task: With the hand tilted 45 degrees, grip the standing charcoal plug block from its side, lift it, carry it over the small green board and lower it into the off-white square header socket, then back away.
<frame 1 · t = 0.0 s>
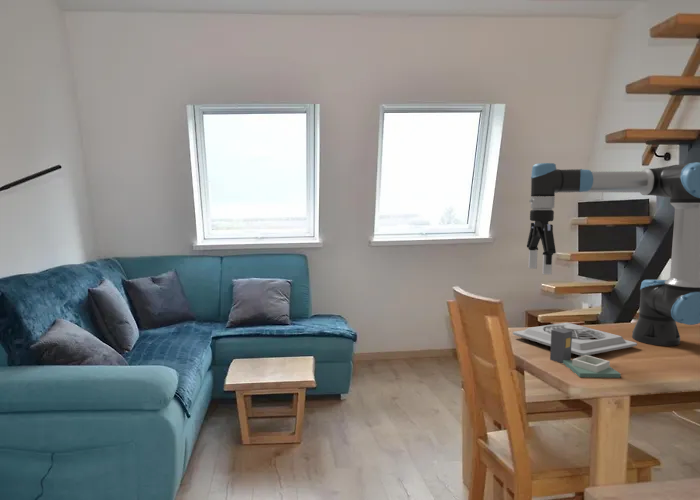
hand: (539, 271, 165), 28 cm above the table, fingers open, 13 cm apart
plug: (560, 360, 158), on the table
header board: (590, 370, 148), on the table
ventilation fan: (572, 343, 176), on the table, touching fan lead
fan lead: (567, 354, 164), on the table
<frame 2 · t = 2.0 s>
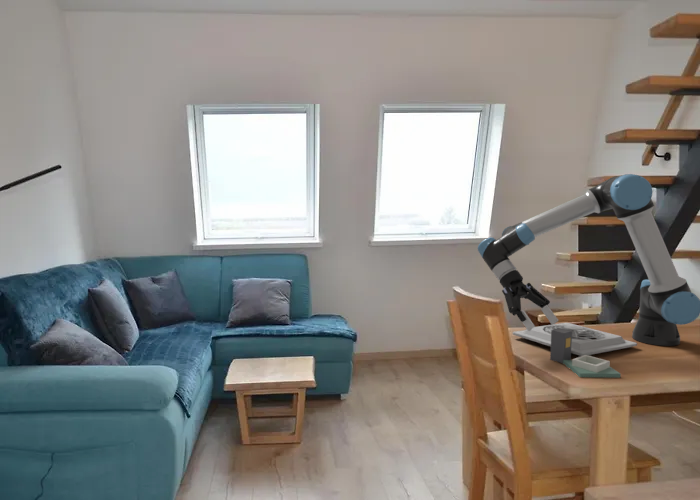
hand: (543, 325, 161), 10 cm above the table, fingers open, 13 cm apart
nothing on the table moved.
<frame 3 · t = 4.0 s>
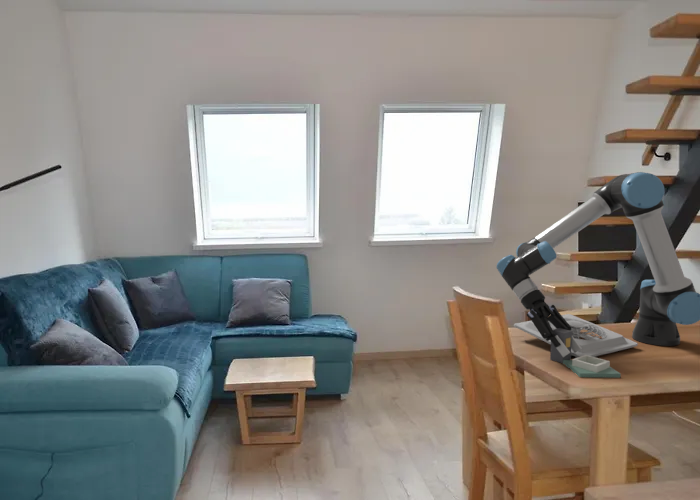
hand: (572, 352, 154), 3 cm above the table, fingers open, 6 cm apart
ventilation fan: (572, 339, 175), point 2 cm above the table, touching fan lead, gripper
everything else where it was.
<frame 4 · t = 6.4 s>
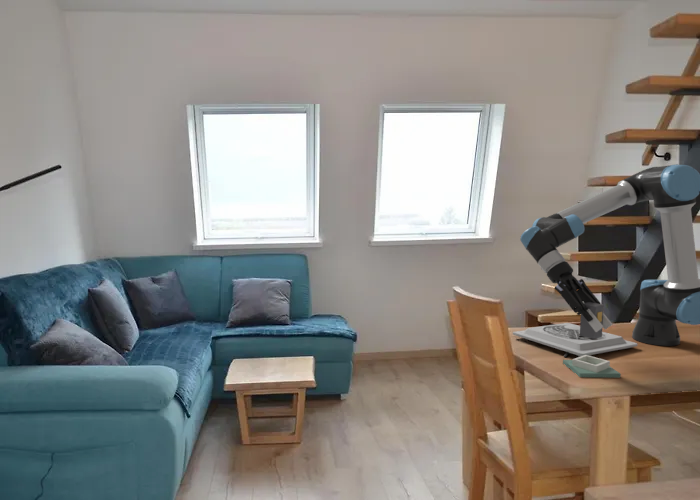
hand: (604, 328, 144), 14 cm above the table, fingers closed on plug, 4 cm apart
plug: (590, 336, 148), point 11 cm above the table, touching gripper
ventilation fan: (572, 344, 175), on the table, touching fan lead
when the fingers open (5 cm above the table, at t = 8.3 s): plug stays where it is, resting on header board.
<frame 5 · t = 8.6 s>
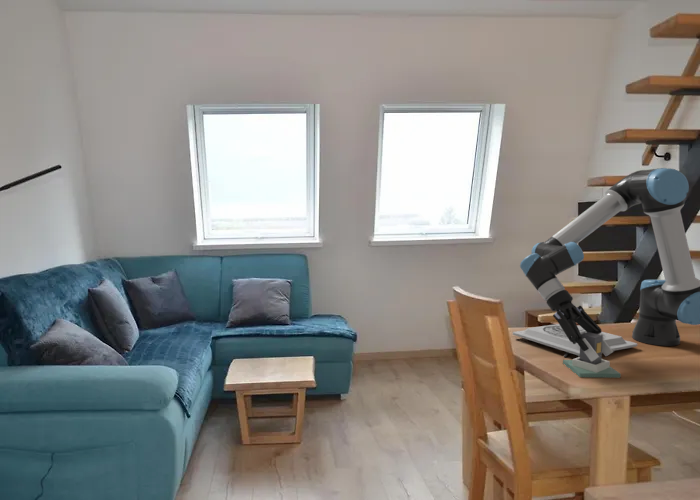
hand: (602, 356, 145), 5 cm above the table, fingers open, 8 cm apart
plug: (589, 366, 148), point 1 cm above the table, touching header board
everything else where it was.
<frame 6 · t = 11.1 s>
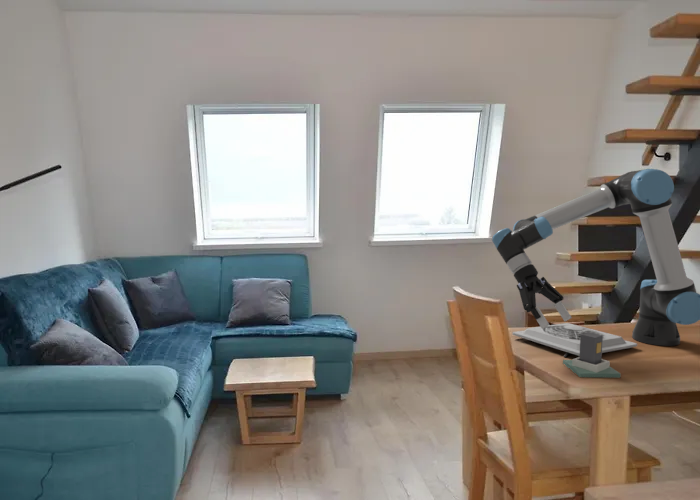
hand: (557, 323, 158), 12 cm above the table, fingers open, 13 cm apart
nothing on the table moved.
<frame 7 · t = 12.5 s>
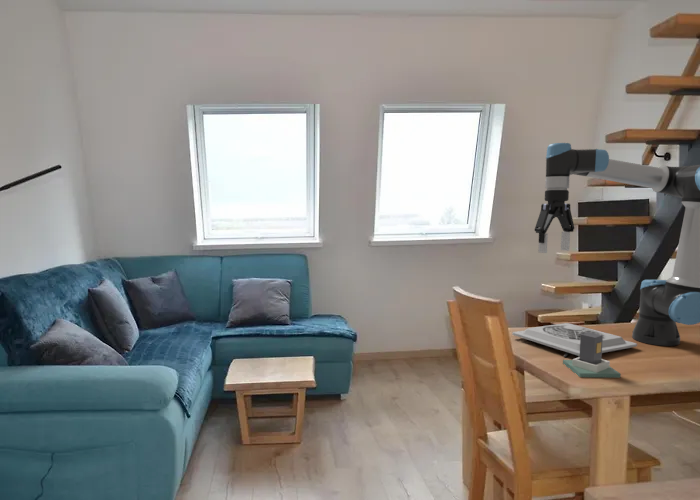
hand: (554, 251, 166), 35 cm above the table, fingers open, 13 cm apart
ventilation fan: (572, 344, 175), on the table
everything else where it was.
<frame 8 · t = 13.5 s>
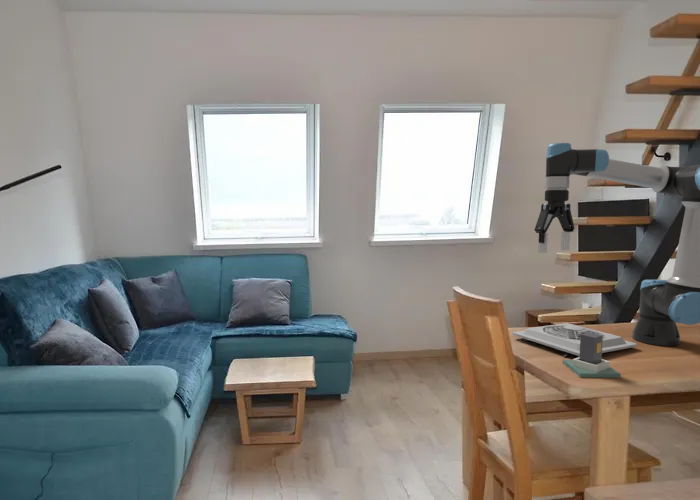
hand: (554, 251, 166), 35 cm above the table, fingers open, 13 cm apart
ventilation fan: (572, 344, 175), on the table, touching fan lead
everything else where it was.
at the end: plug 0.2 cm from the header board (horizontally); plug point 1.2 cm above the table; plug tilted 0° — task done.
